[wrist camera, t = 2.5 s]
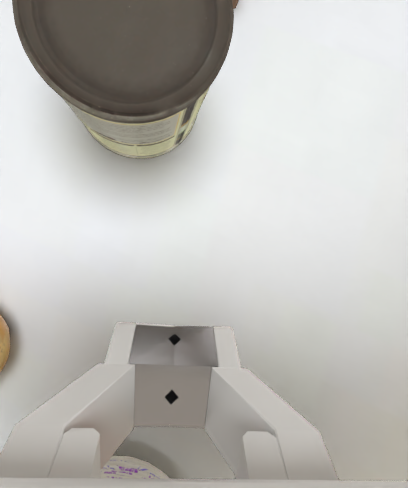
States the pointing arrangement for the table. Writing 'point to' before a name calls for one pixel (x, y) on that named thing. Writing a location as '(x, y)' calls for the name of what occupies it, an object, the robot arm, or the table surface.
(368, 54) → the table surface
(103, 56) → the coffee can
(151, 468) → the paper bowls
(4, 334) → the onion
